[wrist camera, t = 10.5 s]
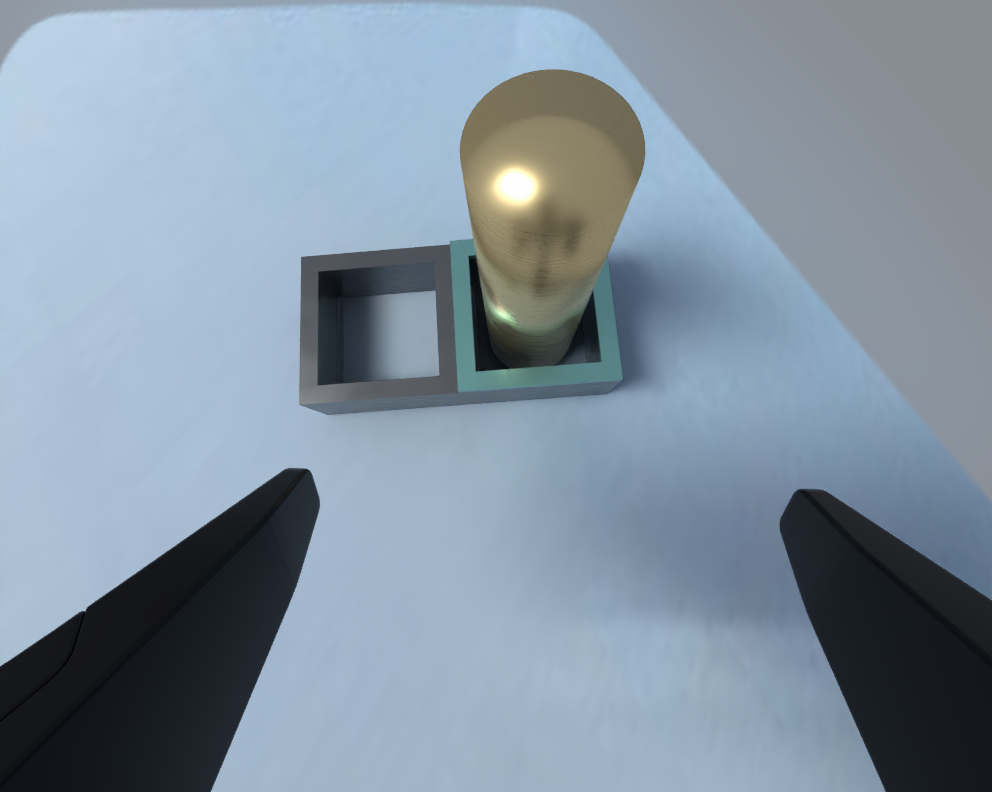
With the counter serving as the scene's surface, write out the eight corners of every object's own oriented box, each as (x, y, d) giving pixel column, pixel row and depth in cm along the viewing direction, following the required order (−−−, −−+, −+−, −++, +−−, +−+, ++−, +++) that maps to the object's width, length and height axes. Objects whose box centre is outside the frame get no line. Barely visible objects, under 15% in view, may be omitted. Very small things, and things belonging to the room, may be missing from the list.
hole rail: (591, 263, 24) (604, 228, 20) (607, 393, 22) (622, 378, 19) (327, 284, 24) (298, 253, 21) (327, 414, 23) (295, 403, 19)
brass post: (582, 359, 23) (672, 201, 10) (502, 383, 23) (489, 254, 10) (557, 284, 23) (608, 49, 11) (479, 307, 23) (439, 97, 11)
